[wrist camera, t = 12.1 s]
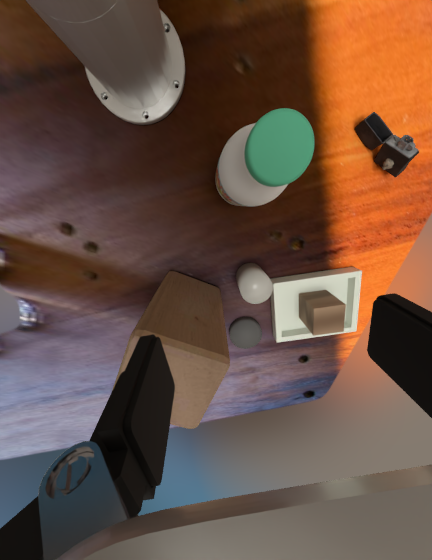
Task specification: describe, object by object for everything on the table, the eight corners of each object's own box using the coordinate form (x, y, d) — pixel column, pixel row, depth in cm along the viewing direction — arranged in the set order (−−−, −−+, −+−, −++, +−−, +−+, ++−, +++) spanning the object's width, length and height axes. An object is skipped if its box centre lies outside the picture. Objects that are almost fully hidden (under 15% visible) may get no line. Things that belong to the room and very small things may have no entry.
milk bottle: (231, 139, 31) (267, 42, 12) (274, 169, 33) (365, 123, 14) (206, 189, 33) (202, 171, 14) (247, 215, 35) (293, 229, 16)
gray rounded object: (227, 318, 41) (228, 323, 40) (258, 314, 41) (260, 319, 39) (231, 344, 43) (232, 350, 42) (260, 340, 43) (262, 346, 41)
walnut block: (298, 293, 39) (313, 308, 34) (326, 289, 39) (345, 304, 33) (298, 317, 41) (313, 335, 35) (325, 313, 41) (343, 331, 35)
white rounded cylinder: (234, 265, 38) (238, 276, 32) (262, 260, 38) (271, 271, 32) (237, 291, 39) (242, 305, 34) (264, 287, 39) (273, 301, 34)
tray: (269, 278, 39) (273, 283, 36) (352, 266, 38) (361, 270, 36) (272, 334, 43) (276, 342, 40) (348, 324, 42) (356, 331, 40)
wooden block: (222, 287, 39) (234, 365, 20) (202, 331, 42) (196, 435, 23) (169, 267, 37) (129, 332, 19) (152, 314, 40) (103, 412, 22)
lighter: (345, 147, 34) (354, 119, 29) (357, 136, 34) (369, 105, 28) (391, 181, 32) (410, 157, 26) (404, 169, 31) (427, 143, 26)
